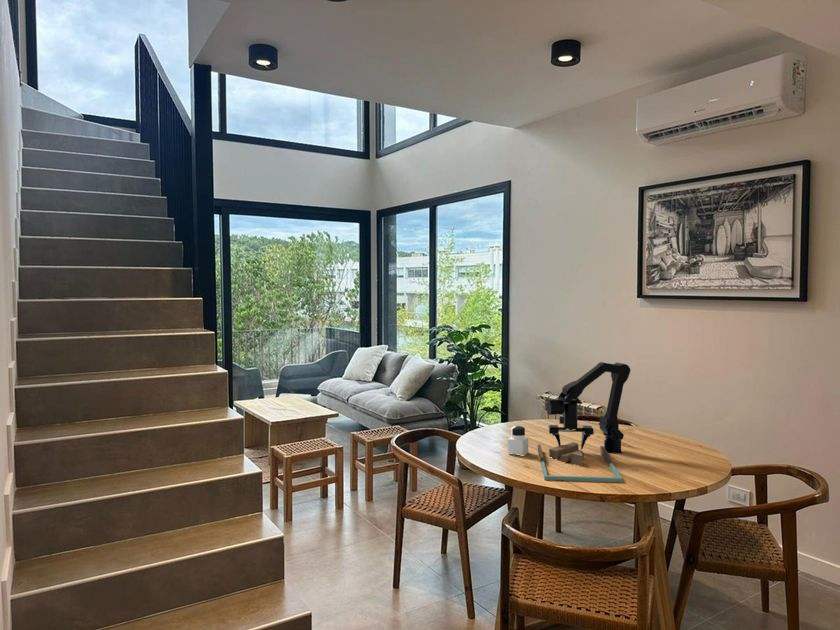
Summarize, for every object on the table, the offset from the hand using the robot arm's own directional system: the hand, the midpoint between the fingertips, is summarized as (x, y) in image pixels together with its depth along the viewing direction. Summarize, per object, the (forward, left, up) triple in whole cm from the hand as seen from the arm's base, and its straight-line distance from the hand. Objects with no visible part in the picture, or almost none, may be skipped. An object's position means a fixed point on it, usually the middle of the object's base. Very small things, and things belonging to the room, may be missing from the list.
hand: (570, 449), depth 250 cm
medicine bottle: (+23, +2, -2) cm, 23 cm away
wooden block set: (-2, +7, -3) cm, 8 cm away
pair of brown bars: (0, +7, -2) cm, 7 cm away
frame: (0, +27, -2) cm, 27 cm away
